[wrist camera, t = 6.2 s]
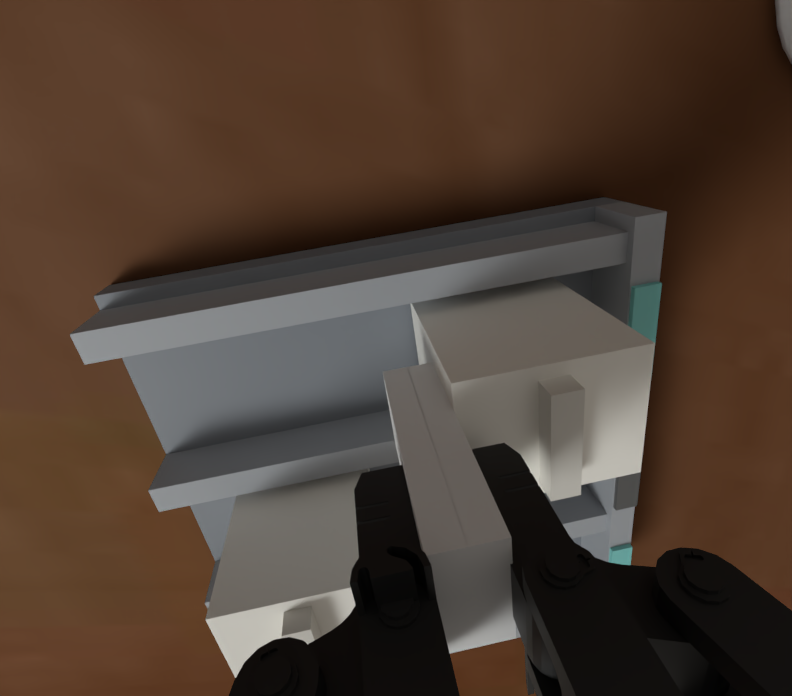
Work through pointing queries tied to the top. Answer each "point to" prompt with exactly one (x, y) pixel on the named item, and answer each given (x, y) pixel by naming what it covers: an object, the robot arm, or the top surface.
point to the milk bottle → (785, 25)
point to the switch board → (350, 351)
